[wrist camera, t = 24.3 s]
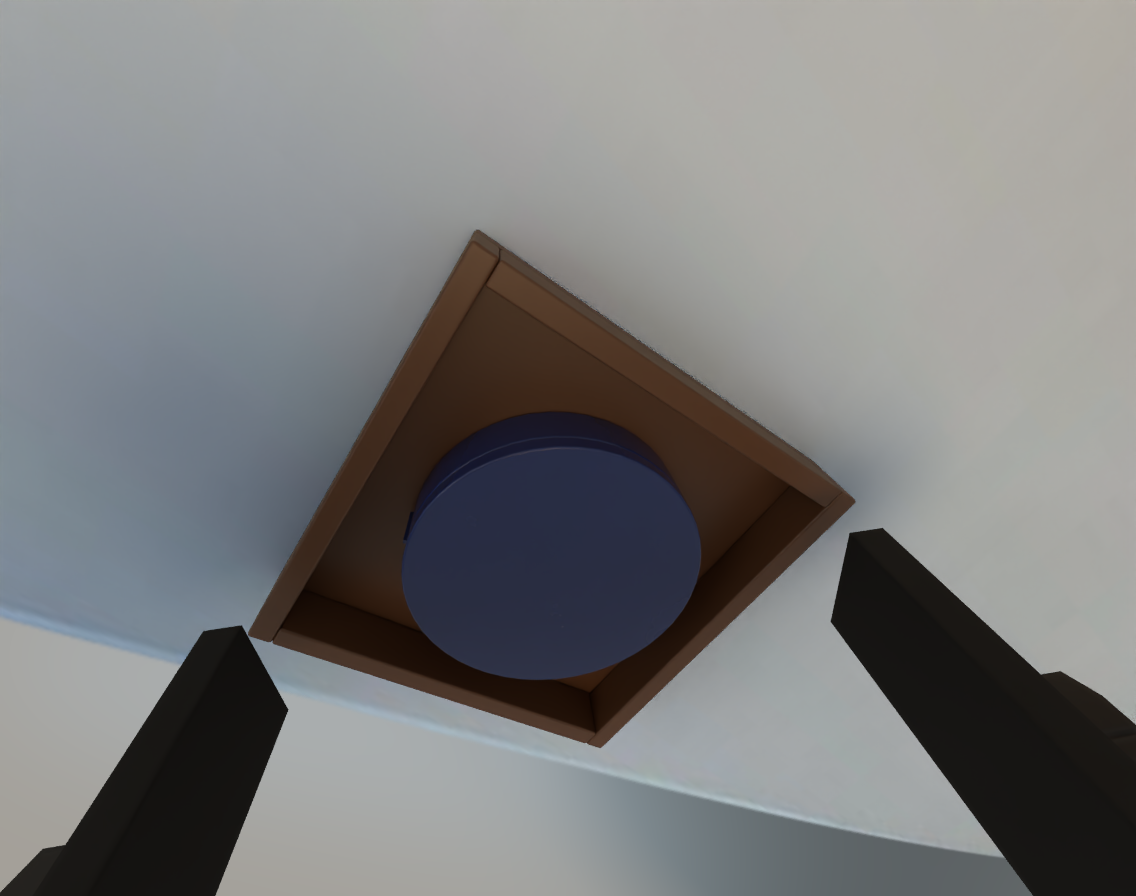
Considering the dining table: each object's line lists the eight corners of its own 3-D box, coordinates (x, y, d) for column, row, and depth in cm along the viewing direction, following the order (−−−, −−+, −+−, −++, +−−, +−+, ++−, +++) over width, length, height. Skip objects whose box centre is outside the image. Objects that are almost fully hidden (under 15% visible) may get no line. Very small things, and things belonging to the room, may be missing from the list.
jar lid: (392, 613, 15) (380, 667, 13) (433, 381, 12) (422, 414, 10) (630, 639, 17) (644, 690, 15) (719, 442, 14) (750, 479, 12)
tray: (277, 578, 15) (246, 636, 13) (476, 227, 11) (472, 238, 9) (590, 692, 19) (600, 749, 17) (813, 461, 15) (858, 501, 13)
